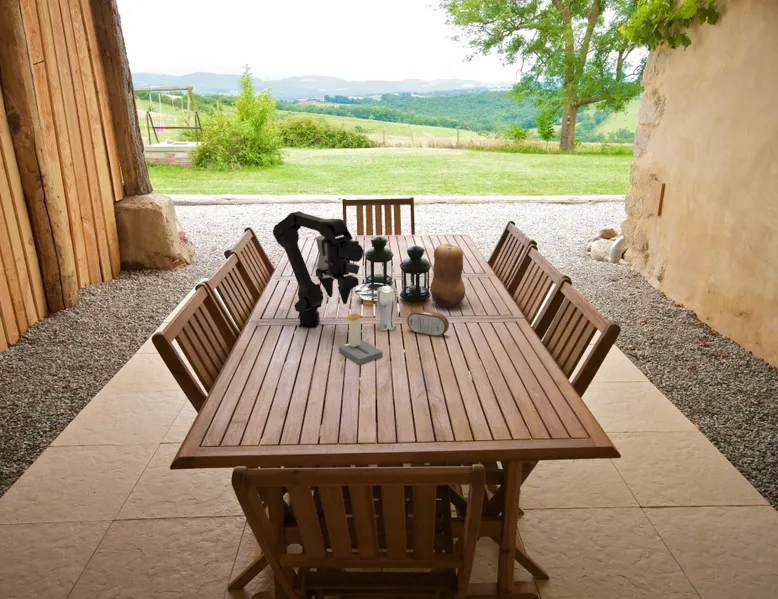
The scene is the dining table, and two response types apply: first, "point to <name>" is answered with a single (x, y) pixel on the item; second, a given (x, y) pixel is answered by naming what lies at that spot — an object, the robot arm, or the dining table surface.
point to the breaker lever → (354, 329)
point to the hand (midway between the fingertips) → (337, 300)
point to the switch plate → (360, 352)
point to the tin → (428, 322)
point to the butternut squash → (447, 276)
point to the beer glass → (386, 306)
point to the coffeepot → (321, 252)
